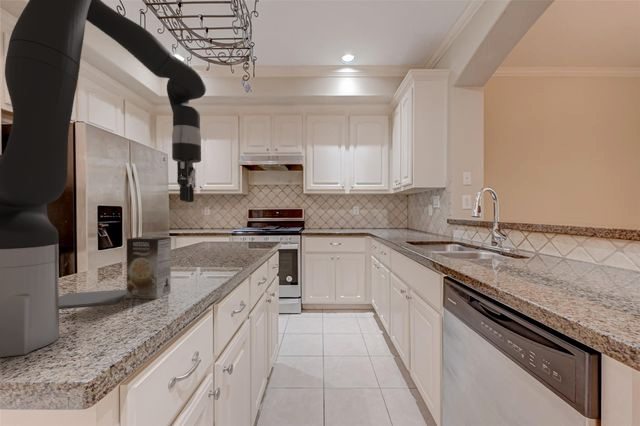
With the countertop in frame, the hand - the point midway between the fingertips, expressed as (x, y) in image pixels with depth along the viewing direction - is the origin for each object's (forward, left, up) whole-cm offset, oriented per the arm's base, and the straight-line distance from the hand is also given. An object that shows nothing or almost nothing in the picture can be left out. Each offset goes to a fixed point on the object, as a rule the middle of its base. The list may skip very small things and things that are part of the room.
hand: (187, 201), depth 81 cm
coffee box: (0, +10, -26) cm, 28 cm away
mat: (0, +24, -26) cm, 35 cm away
